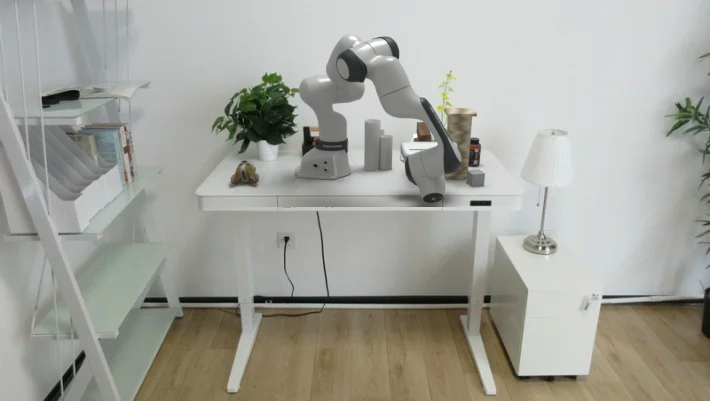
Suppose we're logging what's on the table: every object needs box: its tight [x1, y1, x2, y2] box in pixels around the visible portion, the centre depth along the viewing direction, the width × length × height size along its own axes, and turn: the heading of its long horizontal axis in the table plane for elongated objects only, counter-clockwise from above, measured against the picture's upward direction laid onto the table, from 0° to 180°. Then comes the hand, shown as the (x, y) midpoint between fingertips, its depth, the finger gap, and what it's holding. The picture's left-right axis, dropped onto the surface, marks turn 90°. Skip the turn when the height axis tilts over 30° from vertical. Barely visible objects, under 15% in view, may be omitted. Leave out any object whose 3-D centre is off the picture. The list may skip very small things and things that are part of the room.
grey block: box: [465, 168, 486, 188], centre depth 209 cm, size 5×5×5 cm
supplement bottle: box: [468, 137, 482, 167], centre depth 230 cm, size 6×6×11 cm
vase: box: [363, 118, 394, 172], centre depth 224 cm, size 11×7×20 cm, turn 97°
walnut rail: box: [415, 121, 432, 142], centre depth 210 cm, size 4×20×4 cm, turn 178°
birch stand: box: [443, 107, 478, 180], centre depth 215 cm, size 11×10×26 cm
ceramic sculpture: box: [230, 157, 260, 185], centre depth 212 cm, size 11×9×15 cm
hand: (427, 135), depth 201 cm, fingers open, 8 cm apart
